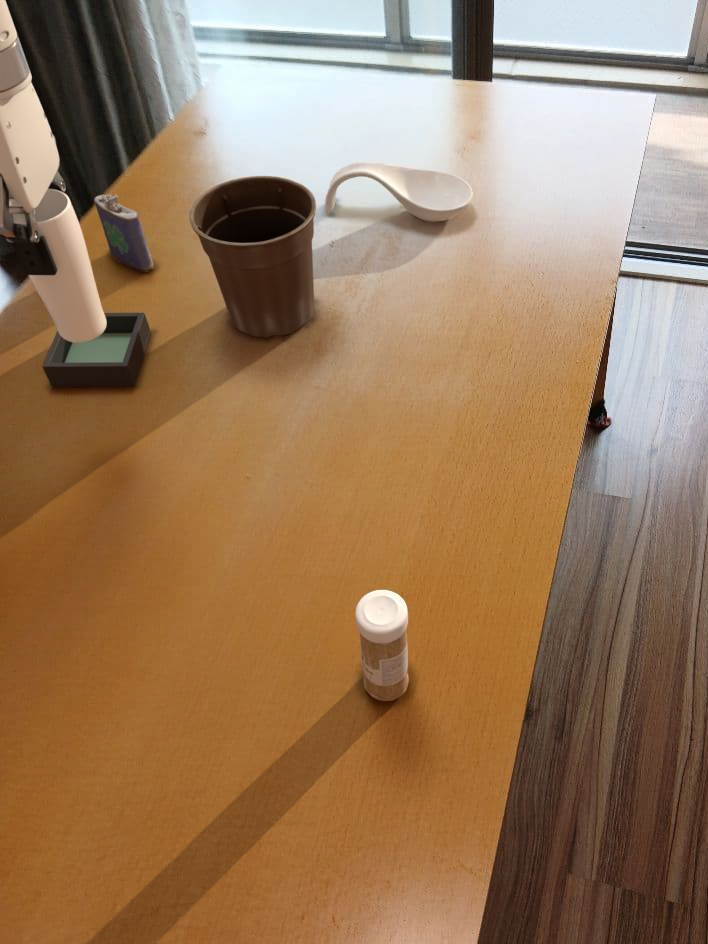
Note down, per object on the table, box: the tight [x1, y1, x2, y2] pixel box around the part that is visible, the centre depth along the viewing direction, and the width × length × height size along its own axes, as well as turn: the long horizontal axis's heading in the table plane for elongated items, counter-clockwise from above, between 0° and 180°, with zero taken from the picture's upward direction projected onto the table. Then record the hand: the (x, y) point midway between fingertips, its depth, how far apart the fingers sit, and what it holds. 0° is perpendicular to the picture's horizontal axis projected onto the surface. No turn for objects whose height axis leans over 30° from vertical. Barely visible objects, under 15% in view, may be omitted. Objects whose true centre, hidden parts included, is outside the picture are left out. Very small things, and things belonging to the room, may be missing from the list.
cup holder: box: [41, 312, 152, 388], centre depth 110 cm, size 11×11×4 cm
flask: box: [93, 193, 155, 273], centre depth 121 cm, size 9×3×11 cm, turn 50°
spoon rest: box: [324, 161, 474, 223], centre depth 129 cm, size 24×12×7 cm, turn 85°
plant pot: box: [188, 175, 317, 339], centre depth 110 cm, size 16×16×16 cm
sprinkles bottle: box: [355, 589, 410, 702], centre depth 75 cm, size 5×5×13 cm
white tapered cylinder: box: [9, 189, 107, 343], centre depth 85 cm, size 7×7×15 cm
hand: (52, 250), depth 83 cm, fingers closed on white tapered cylinder, 6 cm apart
